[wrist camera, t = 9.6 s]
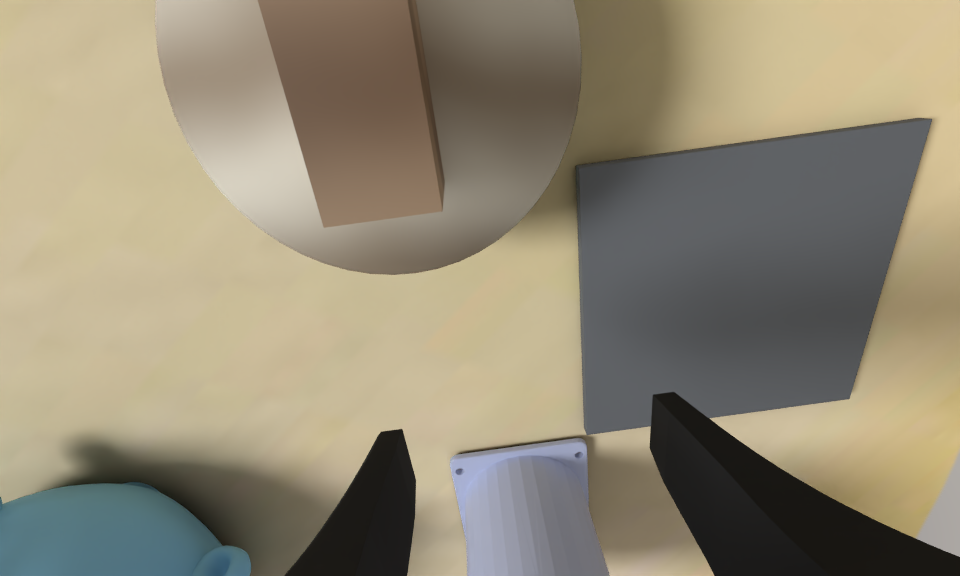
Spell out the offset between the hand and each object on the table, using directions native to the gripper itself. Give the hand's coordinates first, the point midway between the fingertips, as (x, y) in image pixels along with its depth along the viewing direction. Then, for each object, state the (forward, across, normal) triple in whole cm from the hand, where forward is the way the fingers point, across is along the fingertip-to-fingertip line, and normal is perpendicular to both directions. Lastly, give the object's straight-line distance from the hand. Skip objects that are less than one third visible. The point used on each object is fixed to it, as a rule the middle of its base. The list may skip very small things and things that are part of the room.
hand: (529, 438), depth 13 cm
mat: (+10, -12, +2) cm, 15 cm away
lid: (+6, +3, -10) cm, 12 cm away
